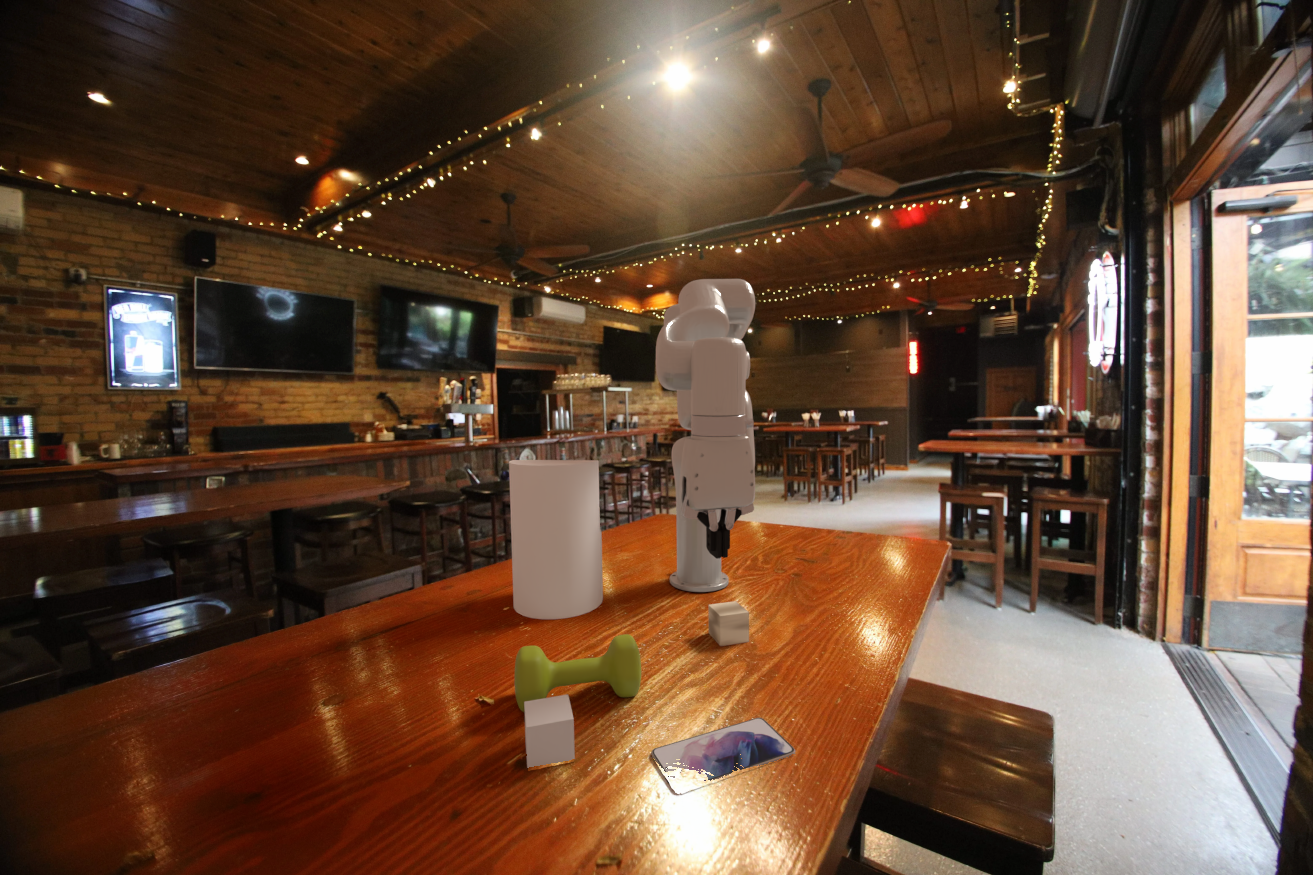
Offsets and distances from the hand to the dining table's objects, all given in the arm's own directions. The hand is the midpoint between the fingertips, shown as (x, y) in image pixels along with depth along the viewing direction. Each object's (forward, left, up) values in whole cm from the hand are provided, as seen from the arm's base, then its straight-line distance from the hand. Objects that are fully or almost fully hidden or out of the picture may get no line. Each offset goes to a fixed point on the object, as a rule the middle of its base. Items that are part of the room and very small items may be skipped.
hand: (718, 554), depth 75 cm
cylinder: (-34, -19, -17) cm, 43 cm away
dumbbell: (+1, -20, -17) cm, 27 cm away
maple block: (-9, +6, -17) cm, 20 cm away
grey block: (+11, -25, -17) cm, 32 cm away
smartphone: (+17, -7, -18) cm, 25 cm away
